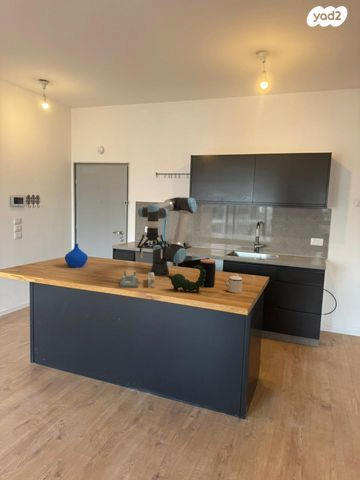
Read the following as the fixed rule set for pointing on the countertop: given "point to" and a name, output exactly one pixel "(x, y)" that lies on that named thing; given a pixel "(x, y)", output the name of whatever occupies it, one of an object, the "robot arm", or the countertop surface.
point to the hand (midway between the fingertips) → (151, 258)
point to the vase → (76, 257)
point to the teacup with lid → (234, 284)
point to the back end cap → (129, 275)
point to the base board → (129, 285)
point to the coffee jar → (209, 272)
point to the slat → (151, 280)
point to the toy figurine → (185, 284)
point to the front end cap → (128, 281)
